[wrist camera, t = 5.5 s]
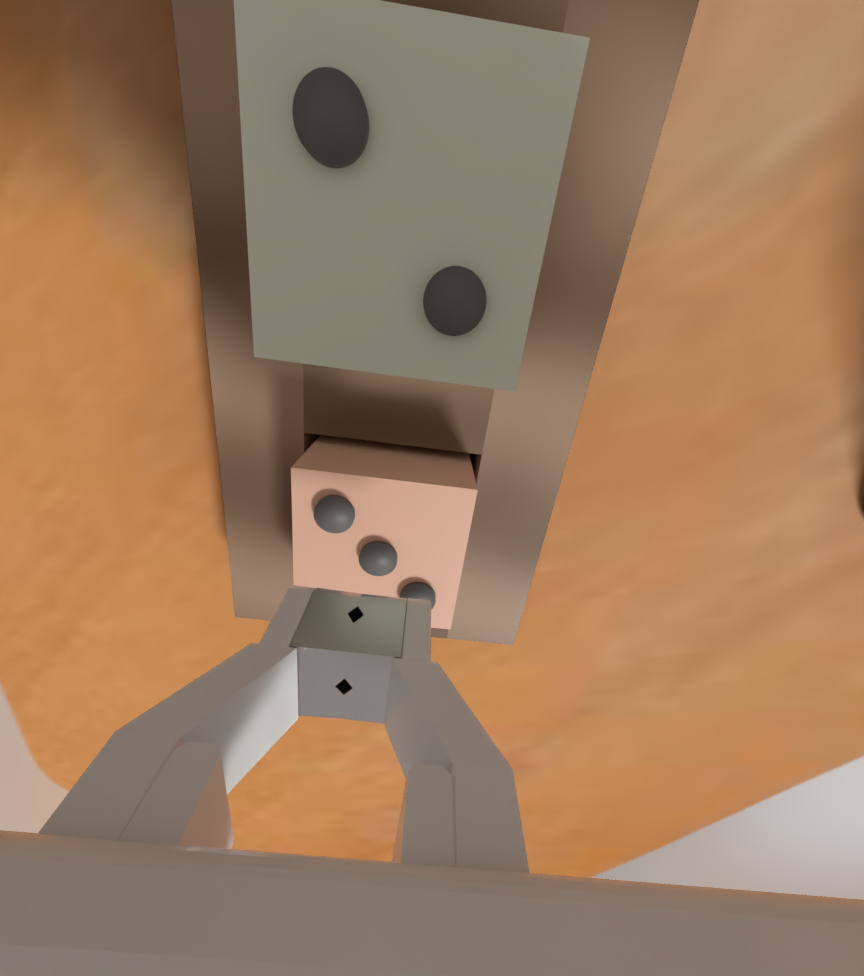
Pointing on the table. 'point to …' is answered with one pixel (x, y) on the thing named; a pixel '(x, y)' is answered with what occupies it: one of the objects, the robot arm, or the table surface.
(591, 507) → the table surface
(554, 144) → the key two
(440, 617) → the key three
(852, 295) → the table surface
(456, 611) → the keypad board
